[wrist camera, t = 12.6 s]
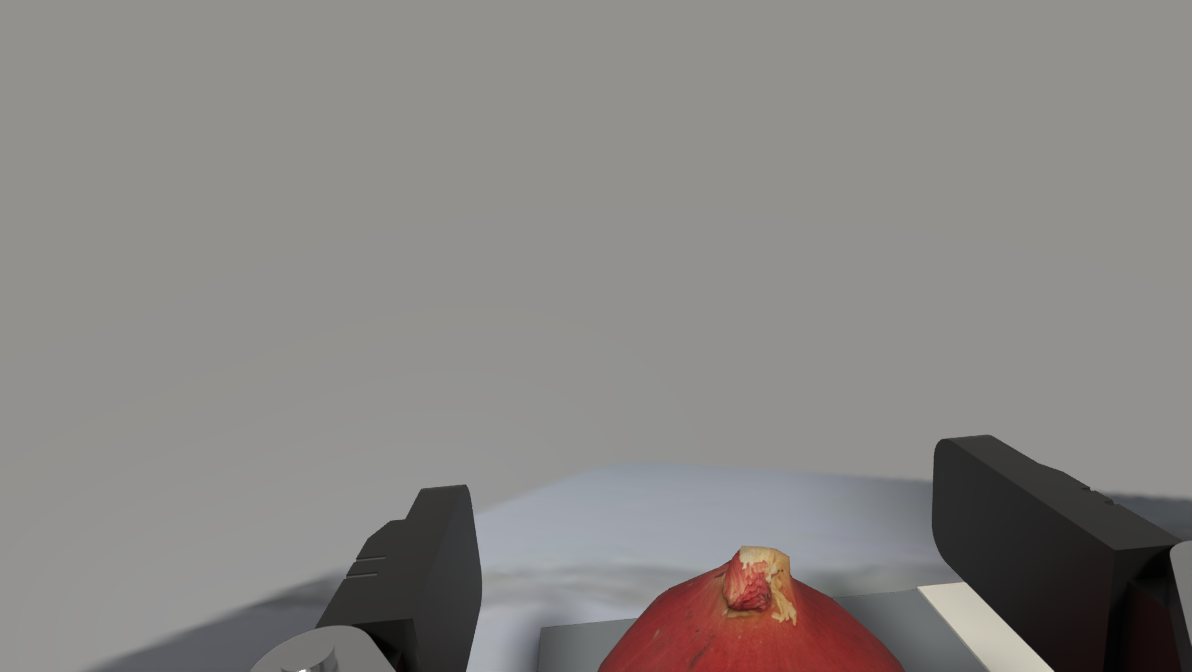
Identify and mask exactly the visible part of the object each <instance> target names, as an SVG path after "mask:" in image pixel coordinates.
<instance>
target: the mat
mask: <svg viewBox="0 0 1192 672" xmlns="http://www.w3.org/2000/svg"><path fill="white" fill-rule="evenodd" d="M832 599H834V600H835V601H836V602H837V603H838V604H840V605H841V606H842V607H843V608H844V609H846V610H847V611H848V612H849V613H850V614H851V615H852V616H853V617H854V618H856V619H857V620H858V621H859V622H860V623H861V624H862V625H863V626H864V627H866V628H867V629H868V630H869V631H870V632H871V633H872V634H873V635H874V636H876V637H877V638H878V639H879V640H880V641H881V642H882V643H883V644H884V645H885V646H886V647H887V648H888V649H889V651H890V652H891V653H892V654H893V655H894V656H895V657H896V658H897V660H898V661H899V662H900V663H901V665H902V667H903V668H904V670H905V672H1054V671H1053V670H1052V669H1051V668H1050V667H1049V666H1048V665H1047V664H1046V663H1045V662H1044V661H1043V660H1042V658H1041V657H1040V656H1039V655H1038V654H1037V653H1036V652H1035V651H1034V650H1033V649H1032V648H1031V647H1030V646H1029V645H1028V644H1027V643H1026V642H1025V641H1024V640H1023V639H1022V638H1021V637H1020V636H1019V635H1018V634H1017V633H1016V632H1015V631H1014V630H1013V629H1012V628H1011V627H1010V626H1009V625H1008V624H1007V623H1006V622H1005V621H1004V620H1003V619H1002V618H1001V617H1000V616H999V615H998V614H997V613H996V612H995V611H994V610H993V609H992V608H991V607H990V606H989V605H988V604H987V603H986V602H985V601H984V600H983V599H982V598H981V597H980V596H979V595H978V594H977V593H976V592H975V591H974V590H973V589H972V588H971V587H970V586H969V585H968V584H967V583H966V582H961V583H951V584H941V585H931V586H922V587H917V590H910V591H900V592H890V593H880V594H871V595H861V596H851V597H841V598H832ZM637 619H638V618H634V619H624V620H614V621H604V622H594V623H584V624H574V625H564V626H555V627H545V628H541V631H540V645H539V658H538V671H537V672H597V671H598V669H599V667H600V664H601V663H602V662H603V660H604V659H605V658H606V657H607V655H608V654H609V653H610V652H611V650H612V649H613V648H614V646H615V645H616V644H617V643H618V641H619V640H620V639H621V638H622V636H623V635H624V634H625V633H626V631H627V630H628V629H629V628H630V627H631V626H632V625H633V623H634V622H635V621H636V620H637Z"/></svg>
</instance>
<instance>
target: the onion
mask: <svg viewBox="0 0 1192 672" xmlns="http://www.w3.org/2000/svg"><path fill="white" fill-rule="evenodd" d="M597 672H905V670H904V668H903V667H902V665H901V663H900V662H899V661H898V660H897V658H896V657H895V656H894V655H893V654H892V653H891V652H890V651H889V649H888V648H887V647H886V646H885V645H884V644H883V643H882V642H881V641H880V640H879V639H878V638H877V637H876V636H874V635H873V634H872V633H871V632H870V631H869V630H868V629H867V628H866V627H864V626H863V625H862V624H861V623H860V622H859V621H858V620H857V619H856V618H854V617H853V616H852V615H851V614H850V613H849V612H848V611H847V610H846V609H844V608H843V607H842V606H841V605H840V604H838V603H837V602H836V601H835V600H834V599H832V598H830V597H829V596H827V595H825V594H823V593H821V592H819V591H817V590H815V589H813V588H811V587H809V586H807V585H805V584H803V583H802V582H800V581H798V580H796V579H794V578H792V576H791V574H790V558H789V556H787V555H786V554H784V553H782V552H781V551H779V550H777V549H772V548H767V547H753V546H742V547H741V548H740V549H739V550H738V552H737V553H736V554H735V555H734V556H733V558H732V560H730V561H728V562H727V563H725V564H724V565H722V566H720V567H719V568H716V569H714V570H711V571H709V572H707V573H704V574H702V575H700V576H697V577H695V578H693V579H690V580H688V581H685V582H683V583H681V584H678V585H676V586H674V587H671V588H669V589H668V590H666V591H665V592H664V593H662V594H661V595H659V596H658V597H657V598H656V599H655V600H654V601H653V602H652V603H651V604H650V606H649V607H648V608H647V609H646V610H645V611H644V612H643V613H642V614H641V616H640V617H639V618H638V619H637V620H636V621H635V622H634V623H633V625H632V626H631V627H630V628H629V629H628V630H627V631H626V633H625V634H624V635H623V636H622V638H621V639H620V640H619V641H618V643H617V644H616V645H615V646H614V648H613V649H612V650H611V652H610V653H609V654H608V655H607V657H606V658H605V659H604V660H603V662H602V663H601V664H600V667H599V669H598V671H597Z"/></svg>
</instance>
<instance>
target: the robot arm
mask: <svg viewBox="0 0 1192 672" xmlns="http://www.w3.org/2000/svg"><path fill="white" fill-rule="evenodd" d="M932 531H933V536H934V540H935V543H936V546H937V548H938V551H939V553H940V554H941V556H942V558H943V559H944V561H945V562H946V563H947V564H948V565H949V566H950V567H951V568H952V569H953V570H954V571H955V572H956V573H957V574H958V575H959V576H960V577H961V578H962V579H963V580H964V581H965V582H966V583H967V584H968V585H969V586H970V587H971V588H972V589H973V590H974V591H975V592H976V593H977V594H978V595H979V596H980V597H981V598H982V599H983V600H984V601H985V602H986V603H987V604H988V605H989V606H990V607H991V608H992V609H993V610H994V611H995V612H996V613H997V614H998V615H999V616H1000V617H1001V618H1002V619H1003V620H1004V621H1005V622H1006V623H1007V624H1008V625H1009V626H1010V627H1011V628H1012V629H1013V630H1014V631H1015V632H1016V633H1017V634H1018V635H1019V636H1020V637H1021V638H1022V639H1023V640H1024V641H1025V642H1026V643H1027V644H1028V645H1029V646H1030V647H1031V648H1032V649H1033V650H1034V651H1035V652H1036V653H1037V654H1038V655H1039V656H1040V657H1041V658H1042V660H1043V661H1044V662H1045V663H1046V664H1047V665H1048V666H1049V667H1050V668H1051V669H1052V670H1053V671H1054V672H1192V540H1191V541H1186V542H1183V541H1181V540H1180V539H1178V538H1176V537H1174V536H1173V535H1171V534H1169V533H1168V532H1166V531H1164V530H1162V529H1161V528H1159V527H1157V526H1156V525H1154V524H1152V523H1150V522H1149V521H1147V520H1145V519H1143V518H1142V517H1140V516H1138V515H1137V514H1135V513H1133V512H1131V511H1130V510H1128V509H1126V508H1124V507H1123V506H1121V505H1119V504H1116V505H1114V504H1113V501H1112V500H1111V499H1109V498H1107V497H1105V496H1104V495H1102V494H1100V493H1099V492H1097V491H1091V490H1090V487H1088V486H1086V485H1085V484H1083V483H1081V482H1080V481H1078V480H1076V479H1074V478H1073V477H1071V476H1069V475H1067V474H1066V473H1064V472H1062V471H1059V470H1056V469H1053V468H1050V467H1047V466H1044V465H1042V464H1039V463H1037V462H1035V461H1034V460H1032V459H1030V458H1028V457H1027V456H1025V455H1023V454H1022V453H1020V452H1018V451H1017V450H1015V449H1013V448H1012V447H1010V446H1008V445H1006V444H1005V443H1003V442H1002V441H1000V440H998V439H996V438H995V437H993V436H991V435H979V436H969V437H958V438H948V439H942V440H940V441H939V442H938V444H937V445H936V448H935V452H934V469H933V502H932ZM481 599H482V574H481V565H480V558H479V551H478V544H477V538H476V531H475V524H474V517H473V510H472V503H471V497H470V493H469V489H468V487H467V486H466V485H455V486H444V487H434V488H424V489H421V490H420V492H419V494H418V496H417V498H416V500H415V501H414V504H413V505H412V507H411V509H410V511H409V513H408V515H407V517H406V519H404V520H394V521H390V522H388V523H387V524H386V525H384V526H383V527H382V528H381V529H380V530H378V531H377V532H376V533H375V534H373V535H372V536H371V537H370V538H368V539H367V541H366V543H365V544H364V546H363V548H362V549H361V551H360V553H359V555H358V556H357V558H356V562H354V563H353V565H352V566H351V568H350V570H349V571H348V573H347V578H346V579H344V580H343V582H342V583H341V585H340V587H339V588H338V590H337V592H336V593H335V595H334V597H333V599H332V600H331V602H330V604H329V605H328V607H327V609H326V610H325V612H324V614H323V615H322V617H321V619H320V621H319V622H318V624H317V626H316V627H315V629H314V630H310V631H307V632H304V633H302V634H299V635H297V636H294V637H292V638H290V639H288V640H287V641H285V642H283V643H281V644H280V645H278V646H276V647H275V648H273V649H272V650H271V651H269V652H268V653H267V654H265V655H264V656H263V657H262V658H261V659H260V660H259V661H258V662H257V663H256V664H255V665H254V666H253V668H252V669H251V670H250V672H466V669H467V665H468V660H469V656H470V651H471V647H472V643H473V638H474V634H475V629H476V625H477V620H478V616H479V611H480V607H481Z"/></svg>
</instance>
